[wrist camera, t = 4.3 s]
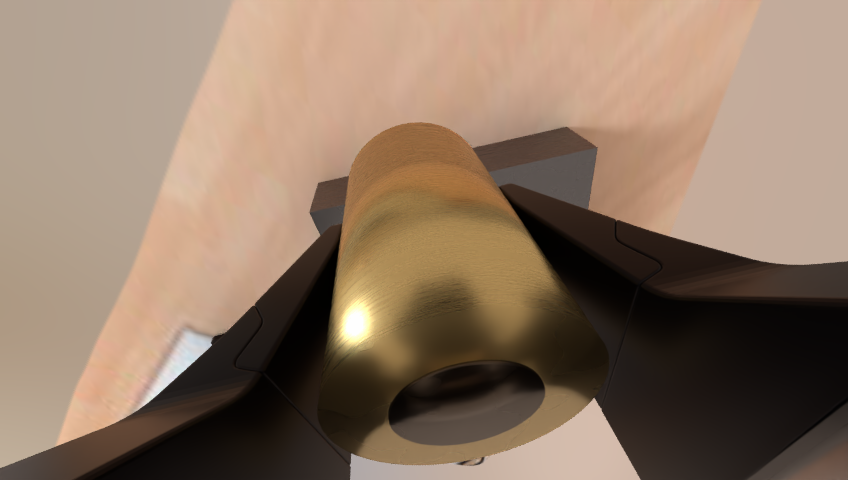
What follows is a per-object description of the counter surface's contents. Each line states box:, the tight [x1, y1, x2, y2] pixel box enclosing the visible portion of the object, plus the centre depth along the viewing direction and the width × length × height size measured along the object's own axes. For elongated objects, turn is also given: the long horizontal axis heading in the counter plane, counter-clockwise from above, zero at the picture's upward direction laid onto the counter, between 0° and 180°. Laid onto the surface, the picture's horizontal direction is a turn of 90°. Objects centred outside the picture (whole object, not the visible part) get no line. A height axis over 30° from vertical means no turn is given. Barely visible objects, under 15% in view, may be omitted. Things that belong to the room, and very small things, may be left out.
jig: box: [309, 127, 598, 235], centre depth 24 cm, size 16×16×4 cm
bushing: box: [317, 123, 609, 465], centre depth 8 cm, size 4×4×7 cm
